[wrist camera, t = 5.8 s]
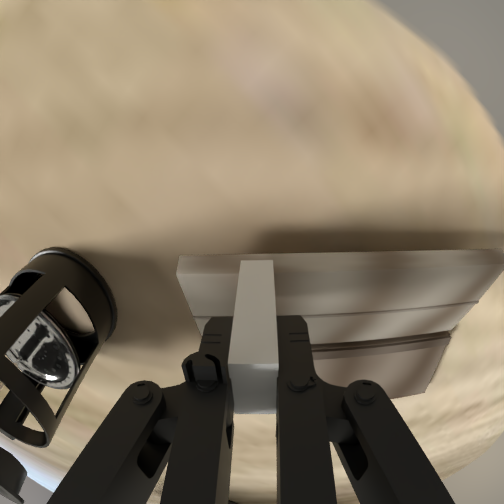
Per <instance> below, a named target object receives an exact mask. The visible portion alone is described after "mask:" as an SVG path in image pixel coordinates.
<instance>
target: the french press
mask: <svg viewBox="0 0 504 504" xmlns="http://www.w3.org/2000/svg"><path fill="white" fill-rule="evenodd" d="M39 273H41V274H44V275H43V276H42V277H41V278H40V279H39V280H38V281H36V280H37V276H38V274H39ZM64 287H65V288H66V289H67V290H68V291H69V292H71V293H72V294H73V295H74V296H75V298H76V299H77V300H78V301H79V302H80V304H81V305H82V306H83V308H84V309H85V311H86V312H87V314H88V316H89V318H90V320H91V322H92V324H93V327H94V330H95V331H93V332H91V333H88V334H78V333H73V332H70V331H68V330H66V329H64V328H62V327H61V326H60V325H59V324H58V322H57V321H56V320H55V319H54V318H53V317H52V316H51V315H50V314H49V313H48V312H47V311H46V310H45V307H46V306H47V305H48V304H49V303H50V302H51V301H52V300H53V299H54V298H55V296H56V295H57V294H58V293H59V292H60V291H61V290H62V289H63V288H64ZM116 321H117V309H116V305H115V300H114V298H113V295H112V293H111V290H110V288H109V287H108V285H107V283H106V282H105V280H104V279H103V277H102V276H101V275H100V274H99V272H98V271H97V270H96V269H95V268H94V267H93V266H92V265H91V264H90V263H89V262H87V261H86V260H85V259H83V258H82V257H80V256H79V255H77V254H75V253H73V252H71V251H69V250H65V249H61V248H48V249H44V250H42V251H40V252H38V253H37V254H35V255H34V256H33V257H32V259H31V260H30V261H29V263H28V264H27V265H26V266H25V267H24V268H22V269H21V270H20V271H19V272H18V273H16V274H15V276H14V277H13V278H12V279H11V282H10V284H9V286H8V287H7V288H6V289H5V290H4V291H3V292H2V293H0V381H1V382H0V391H1V389H2V388H3V387H4V385H5V386H6V387H7V388H8V389H9V390H10V391H9V392H8V394H7V395H6V397H5V398H4V400H3V401H2V403H1V405H0V432H1V433H3V434H4V435H6V436H7V437H8V438H10V439H11V440H14V439H17V440H19V441H21V442H23V443H25V444H28V445H31V446H34V447H39V448H44V447H47V446H49V444H50V442H51V440H52V438H53V436H54V434H55V432H56V430H57V428H58V426H59V424H60V422H61V420H62V418H63V416H64V414H65V412H66V410H67V408H68V406H69V404H70V402H71V400H72V398H73V396H74V395H75V393H76V391H77V389H78V387H79V385H80V383H81V382H82V380H83V378H84V376H85V374H86V373H87V371H88V369H89V367H90V365H91V364H92V362H93V360H94V358H95V357H96V355H97V353H98V351H99V350H100V348H101V346H102V345H103V343H104V342H105V341H106V340H107V339H108V338H109V337H110V336H111V335H112V333H113V331H114V329H115V326H116ZM5 355H7V357H8V358H9V359H10V360H11V361H12V362H13V363H14V364H13V363H12V362H11V361H10V360H8V359H7V358H6V357H5ZM80 365H83V366H82V368H81V370H80ZM17 367H18V368H19V369H20V370H21V371H22V372H21V371H20V370H19V369H18V368H17ZM45 386H48V387H51V388H55V389H68V388H70V389H69V391H68V393H67V394H66V396H65V398H64V400H63V402H62V404H61V405H60V407H59V409H58V411H57V413H56V415H54V413H53V411H52V409H51V408H50V406H49V405H48V403H47V401H46V400H45V399H44V398H43V396H42V395H41V392H42V391H43V389H44V387H45ZM29 412H31V414H32V415H33V416H34V417H35V418H36V420H37V421H38V423H39V424H40V425H41V427H42V428H43V430H44V432H39V431H36V430H32V429H30V428H27V427H25V426H23V423H24V421H25V419H26V418H27V416H28V414H29ZM26 476H27V471H26V470H25V468H24V467H23V466H22V465H21V463H20V462H19V461H18V460H17V459H16V458H15V457H14V456H13V455H12V454H11V453H9V452H8V451H6V450H4V449H3V448H1V447H0V494H1V495H2V496H4V497H6V498H8V499H9V500H11V501H13V502H15V503H17V504H23V503H24V500H23V499H22V498H21V497H20V496H19V495H18V494H19V492H20V490H21V487H22V485H23V483H24V480H25V478H26Z"/></svg>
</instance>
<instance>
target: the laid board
mask: <svg viewBox="0 0 504 504" xmlns="http://www.w3.org/2000/svg"><path fill="white" fill-rule="evenodd" d="M450 339H451V336H450V334H449V333H448V331H441V332H434V333H427V334H420V335H412V336H404V337H395V338H386V339H376V340H365V341H353V342H340V343H324V344H311V349H312V355H313V361H314V368H315V371H316V374H317V375H318V376H319V378H321V379H322V380H323V381H325V382H327V383H329V384H332V385H336V386H342V387H348V385H349V384H350V383H352V382H354V381H356V380H363V379H365V380H371V381H373V382H376V383H378V384H379V385H380V386H381V387H382V388H383V389H384V391H385V392H386V394H387V395H388V397H389V398H390V399H395V398H400V397H406V396H411V395H416V394H421V393H425V391H426V389H427V387H428V385H429V382H430V380H431V378H432V376H433V374H434V372H435V370H436V367H437V365H438V363H439V360H440V358H441V356H442V353H443V351H444V349H445V346H446V345H448V344H449V342H450Z"/></svg>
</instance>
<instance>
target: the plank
mask: <svg viewBox="0 0 504 504" xmlns="http://www.w3.org/2000/svg"><path fill="white" fill-rule="evenodd" d="M241 260H273V269H274V285H275V303H276V316H286V315H301V316H302V318H303V319H304V320H305V321H306V322H307V326H308V332H309V338H310V343H311V344H324V343H340V342H353V341H365V340H376V339H386V338H395V337H404V336H412V335H420V334H427V333H434V332H441V331H447V330H452V329H453V328H454V327H455V325H456V324H457V323H458V322H459V321H460V320H461V319H462V318H463V317H464V316H465V315H466V314H467V313H468V312H469V311H470V309H471V308H472V307H473V306H474V305H475V304H477V303H478V302H479V301H478V300H479V299H480V298H481V297H482V296H483V295H484V293H485V292H486V291H487V290H488V289H489V288H490V286H491V285H492V284H493V283H494V281H495V280H496V279H497V278H498V276H499V275H500V274H501V273H502V271H503V270H504V253H503V251H502V249H470V250H425V251H378V252H330V253H279V254H227V255H180V256H179V261H178V266H177V271H176V275H177V278H178V281H179V283H180V286H181V288H182V291H183V293H184V295H185V298H186V300H187V303H188V305H189V308H190V310H191V312H192V315H193V319H194V320H195V322H196V324H197V327H198V329H199V331H200V334H201V336H203V331H204V326H205V324H206V323H207V322H208V321H209V320H210V318H211V317H234V310H235V302H236V294H237V286H238V279H239V271H240V264H241Z"/></svg>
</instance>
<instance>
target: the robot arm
mask: <svg viewBox="0 0 504 504" xmlns="http://www.w3.org/2000/svg"><path fill="white" fill-rule="evenodd" d="M181 366H182V369H183V373H184V376H185V380H186V381H185V382H184V383H182V384H180V385H176V386H172V387H166V388H160V387H159V386H158V384H156V383H154V382H152V381H145V380H144V381H138V382H136V383H133V384H131V385H130V386H129V387H128V388H127V389H126V390H125V391H124V393H123V394H122V395H121V397H120V398H119V400H118V401H117V402H116V404H115V405H114V407H113V408H112V409H111V411H110V412H109V414H108V415H107V417H106V418H105V419H104V421H103V422H102V424H101V425H100V426H99V428H98V429H97V431H96V432H95V434H94V435H93V436H92V438H91V439H90V441H89V442H88V444H87V445H86V446H85V448H84V449H83V451H82V452H81V454H80V455H79V457H78V458H77V459H76V461H75V462H74V464H73V465H72V467H71V468H70V470H69V471H68V473H67V474H66V475H65V477H64V478H63V480H62V481H61V483H60V484H59V486H58V487H57V489H56V490H55V492H54V493H53V495H52V496H51V498H50V499H49V501H48V502H47V504H146V502H147V501H148V499H149V497H150V495H151V493H152V491H153V489H154V487H155V485H156V484H157V482H158V480H159V478H160V476H161V474H162V472H163V470H164V468H165V466H166V465H167V463H168V466H167V471H166V476H165V481H164V486H163V491H162V496H161V501H160V504H236V503H234V502H231V501H228V499H229V486H230V473H231V460H232V447H233V434H234V423H233V413H234V414H276V445H277V504H337V500H336V491H335V482H334V474H333V466H332V458H331V450H330V443H329V441H330V442H332V443H333V445H334V447H335V450H336V452H337V454H338V456H339V458H340V460H341V463H342V465H343V467H344V469H345V471H346V474H347V476H348V478H349V480H350V482H351V484H352V487H353V489H354V491H355V493H356V495H357V498H358V500H359V502H360V504H455V503H454V501H453V499H452V498H451V496H450V494H449V492H448V491H447V489H446V488H445V486H444V484H443V482H442V481H441V479H440V477H439V476H438V474H437V473H436V471H435V469H434V468H433V466H432V464H431V463H430V461H429V460H428V458H427V456H426V455H425V453H424V452H423V450H422V448H421V447H420V445H419V444H418V442H417V440H416V439H415V437H414V436H413V434H412V432H411V431H410V429H409V428H408V426H407V425H406V423H405V422H404V420H403V418H402V417H401V415H400V414H399V412H398V411H397V409H396V408H395V406H394V404H393V403H392V401H391V400H390V398H389V397H388V395H387V394H386V392H385V391H384V389H383V388H382V387H381V386H380V385H379V384H378V383H376V382H373V381H371V380H365V379H363V380H356V381H354V382H352V383H350V384H349V385H348V387H342V386H336V385H332V384H329V383H327V382H325V381H323V380H322V379H321V378H319V376H318V375H317V374H316V371H315V368H314V361H313V355H312V349H311V343H310V338H309V332H308V326H307V322H306V321H305V320H304V319H303V318H302V316H301V315H286V316H276V303H275V285H274V269H273V260H241V264H240V271H239V279H238V286H237V294H236V302H235V310H234V317H211V318H210V320H209V321H208V322H207V323H206V324H205V326H204V331H203V336H202V339H201V343H200V348H199V352H196V353H193V354H191V355H189V356H188V357H187V358H185V359H184V361H183V363H182V365H181Z"/></svg>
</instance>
